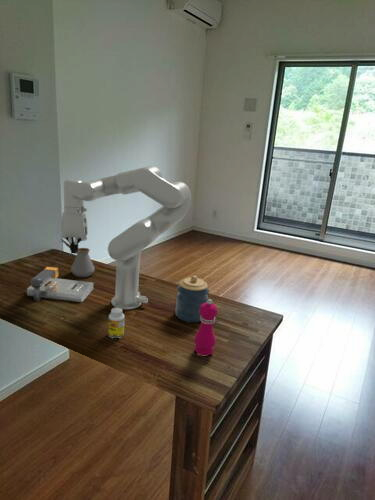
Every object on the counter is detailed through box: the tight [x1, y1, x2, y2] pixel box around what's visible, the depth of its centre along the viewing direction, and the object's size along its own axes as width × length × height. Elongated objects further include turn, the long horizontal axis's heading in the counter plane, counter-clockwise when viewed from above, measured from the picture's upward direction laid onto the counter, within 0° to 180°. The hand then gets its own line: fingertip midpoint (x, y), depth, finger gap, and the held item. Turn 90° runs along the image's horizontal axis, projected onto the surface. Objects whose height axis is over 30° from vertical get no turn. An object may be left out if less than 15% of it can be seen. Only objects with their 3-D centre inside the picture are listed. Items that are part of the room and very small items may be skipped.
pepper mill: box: [194, 298, 218, 355], centre depth 126 cm, size 7×7×20 cm
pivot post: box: [33, 287, 41, 302], centre depth 154 cm, size 2×2×6 cm
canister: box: [174, 275, 210, 323], centre depth 151 cm, size 13×13×18 cm
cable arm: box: [30, 266, 59, 288], centre depth 159 cm, size 17×5×4 cm, turn 174°
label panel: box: [26, 277, 94, 303], centre depth 163 cm, size 24×14×3 cm, turn 84°
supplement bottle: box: [107, 307, 125, 339], centre depth 133 cm, size 6×6×10 cm
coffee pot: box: [59, 238, 96, 278], centre depth 185 cm, size 21×12×15 cm, turn 58°
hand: (74, 252), depth 158 cm, fingers closed
